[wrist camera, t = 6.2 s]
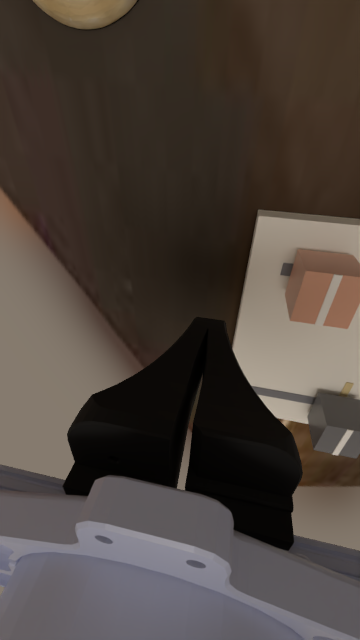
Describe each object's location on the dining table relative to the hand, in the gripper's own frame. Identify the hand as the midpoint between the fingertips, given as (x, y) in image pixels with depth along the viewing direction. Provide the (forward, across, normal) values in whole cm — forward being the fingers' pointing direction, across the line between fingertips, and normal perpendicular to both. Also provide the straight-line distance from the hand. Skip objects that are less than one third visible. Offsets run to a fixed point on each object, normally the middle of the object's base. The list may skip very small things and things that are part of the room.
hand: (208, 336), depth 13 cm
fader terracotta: (+7, -6, -1) cm, 9 cm away
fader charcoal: (+7, -10, +10) cm, 16 cm away
